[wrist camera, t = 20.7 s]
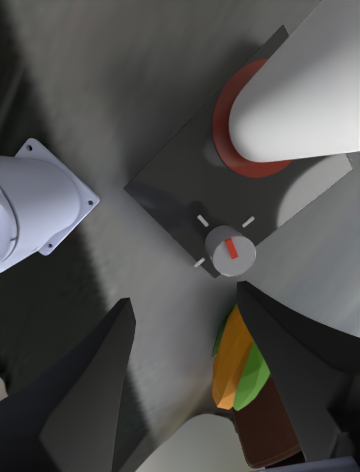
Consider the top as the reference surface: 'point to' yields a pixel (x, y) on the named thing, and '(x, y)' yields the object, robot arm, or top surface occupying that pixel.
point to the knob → (230, 250)
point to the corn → (237, 364)
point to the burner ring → (222, 127)
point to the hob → (226, 184)
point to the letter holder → (267, 431)
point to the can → (305, 91)
